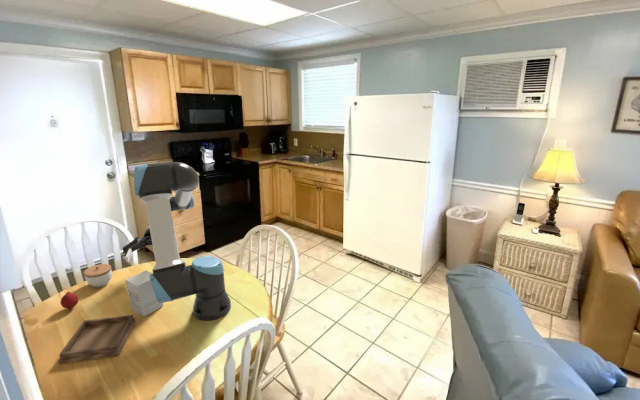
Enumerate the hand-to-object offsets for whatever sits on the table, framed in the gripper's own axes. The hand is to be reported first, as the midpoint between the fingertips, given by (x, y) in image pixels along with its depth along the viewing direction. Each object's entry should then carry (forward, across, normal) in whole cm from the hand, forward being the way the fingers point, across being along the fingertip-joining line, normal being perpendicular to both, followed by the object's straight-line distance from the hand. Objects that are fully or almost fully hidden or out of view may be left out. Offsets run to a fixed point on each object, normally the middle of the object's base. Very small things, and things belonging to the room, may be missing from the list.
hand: (144, 258), depth 134 cm
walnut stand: (+26, +12, -17) cm, 33 cm away
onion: (+2, +30, -21) cm, 36 cm away
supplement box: (+10, -1, -19) cm, 21 cm away
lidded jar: (-15, +25, -22) cm, 37 cm away
